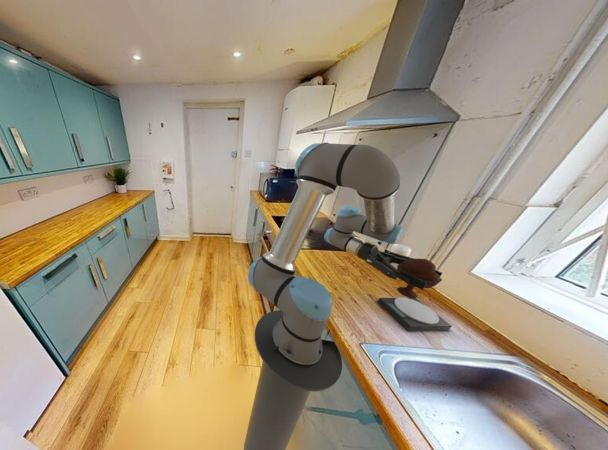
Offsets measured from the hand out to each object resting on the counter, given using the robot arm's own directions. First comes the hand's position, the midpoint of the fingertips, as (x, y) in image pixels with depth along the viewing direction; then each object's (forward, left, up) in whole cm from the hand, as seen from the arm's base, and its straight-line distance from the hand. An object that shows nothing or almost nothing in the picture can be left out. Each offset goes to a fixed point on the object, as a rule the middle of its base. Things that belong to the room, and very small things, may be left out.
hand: (432, 281), depth 65 cm
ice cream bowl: (-2, +4, -9) cm, 10 cm away
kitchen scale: (+3, +2, -18) cm, 18 cm away
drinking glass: (+17, +27, -18) cm, 36 cm away
